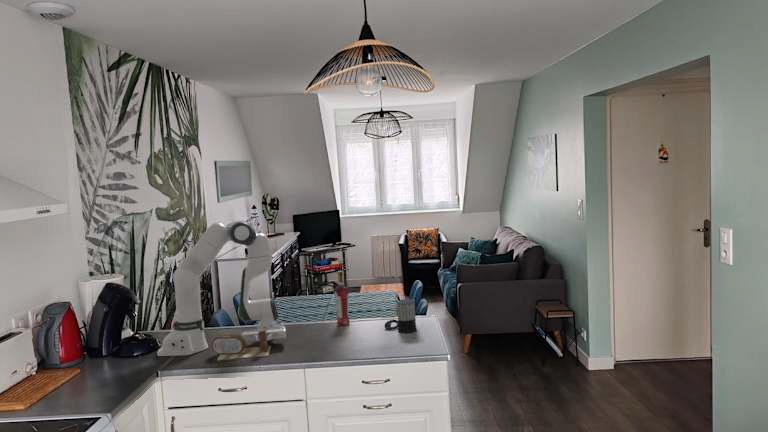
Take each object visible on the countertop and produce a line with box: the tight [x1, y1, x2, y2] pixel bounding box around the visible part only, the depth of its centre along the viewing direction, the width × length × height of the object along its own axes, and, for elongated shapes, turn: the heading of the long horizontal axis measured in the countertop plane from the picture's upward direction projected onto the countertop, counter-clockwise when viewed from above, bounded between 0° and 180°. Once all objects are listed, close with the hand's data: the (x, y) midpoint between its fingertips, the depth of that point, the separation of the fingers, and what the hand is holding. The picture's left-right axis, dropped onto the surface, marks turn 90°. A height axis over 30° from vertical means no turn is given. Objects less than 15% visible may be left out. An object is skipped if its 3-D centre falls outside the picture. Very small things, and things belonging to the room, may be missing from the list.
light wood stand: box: [217, 329, 272, 362], centre depth 259 cm, size 22×14×10 cm, turn 96°
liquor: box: [333, 270, 351, 327], centre depth 297 cm, size 7×7×28 cm
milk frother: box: [384, 298, 418, 334], centre depth 282 cm, size 14×16×15 cm
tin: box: [211, 334, 247, 355], centre depth 259 cm, size 15×3×8 cm, turn 84°
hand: (262, 339), depth 259 cm, fingers closed on light wood stand, 3 cm apart
